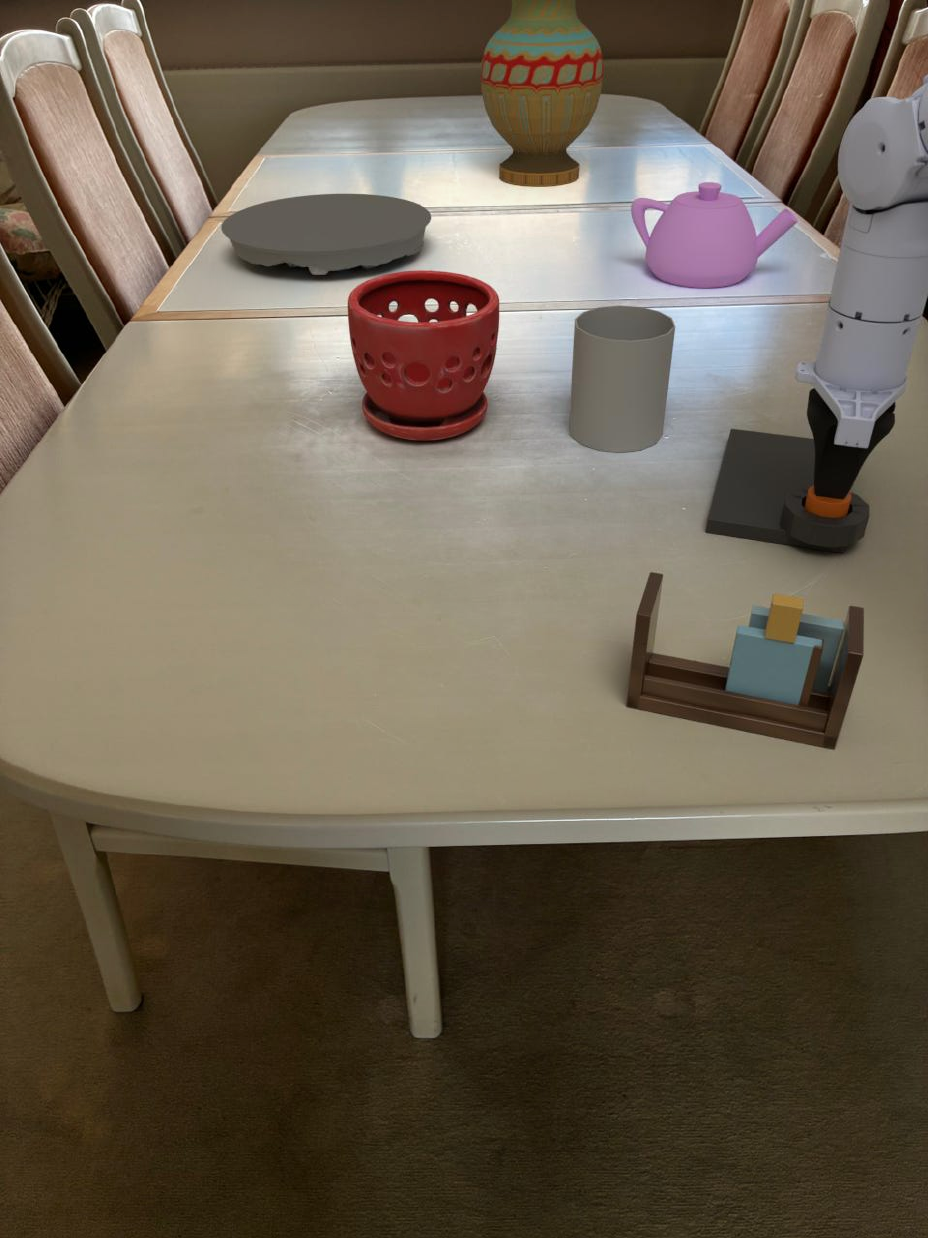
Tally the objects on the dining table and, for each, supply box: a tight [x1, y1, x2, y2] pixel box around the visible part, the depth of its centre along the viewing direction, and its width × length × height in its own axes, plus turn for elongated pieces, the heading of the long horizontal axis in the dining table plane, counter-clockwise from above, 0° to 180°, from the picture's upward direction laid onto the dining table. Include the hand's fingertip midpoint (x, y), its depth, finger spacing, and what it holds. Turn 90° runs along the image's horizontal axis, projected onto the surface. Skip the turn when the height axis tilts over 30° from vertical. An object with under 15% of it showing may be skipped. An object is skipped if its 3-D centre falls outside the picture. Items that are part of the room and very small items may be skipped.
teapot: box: [630, 181, 799, 289], centre depth 118 cm, size 14×20×11 cm
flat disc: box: [220, 193, 432, 276], centre depth 130 cm, size 28×28×4 cm
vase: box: [480, 0, 604, 187], centre depth 155 cm, size 20×20×30 cm
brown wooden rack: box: [625, 571, 865, 750], centre depth 56 cm, size 12×4×7 cm, turn 71°
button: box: [804, 485, 851, 518], centre depth 70 cm, size 3×3×2 cm
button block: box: [705, 428, 870, 554], centre depth 76 cm, size 18×11×3 cm, turn 161°
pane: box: [725, 593, 824, 707], centre depth 54 cm, size 5×1×7 cm, turn 71°
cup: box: [568, 304, 676, 454], centre depth 84 cm, size 8×8×10 cm
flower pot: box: [347, 269, 500, 441], centre depth 86 cm, size 13×13×12 cm
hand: (829, 493), depth 70 cm, fingers closed, pressing on button
